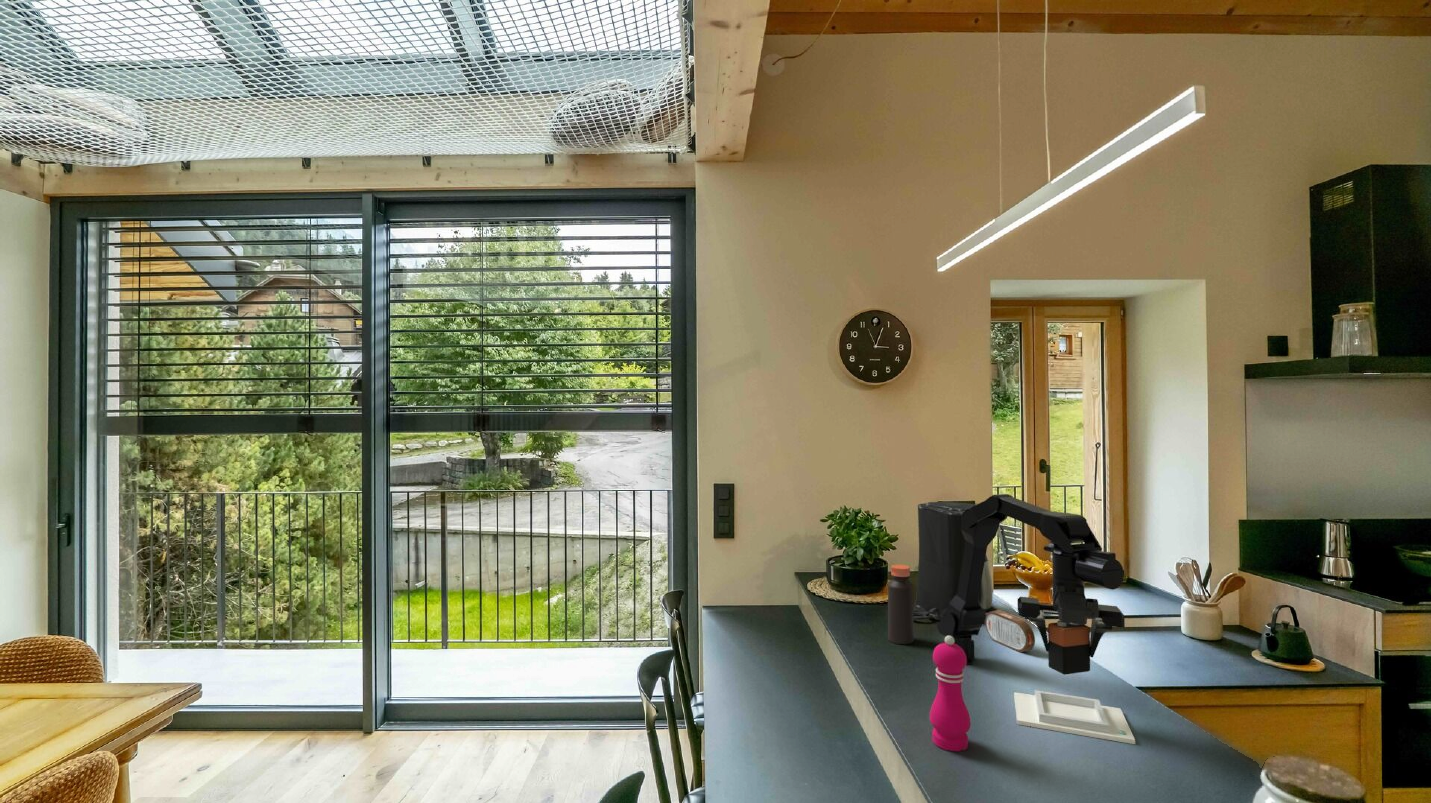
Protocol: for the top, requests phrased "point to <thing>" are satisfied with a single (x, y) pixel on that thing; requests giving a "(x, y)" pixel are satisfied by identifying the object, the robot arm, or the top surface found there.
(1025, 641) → the tin
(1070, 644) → the battery
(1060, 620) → the robot arm
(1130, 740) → the charging cradle
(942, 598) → the coffee maker
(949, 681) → the pepper mill
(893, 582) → the bottle
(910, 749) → the top surface
